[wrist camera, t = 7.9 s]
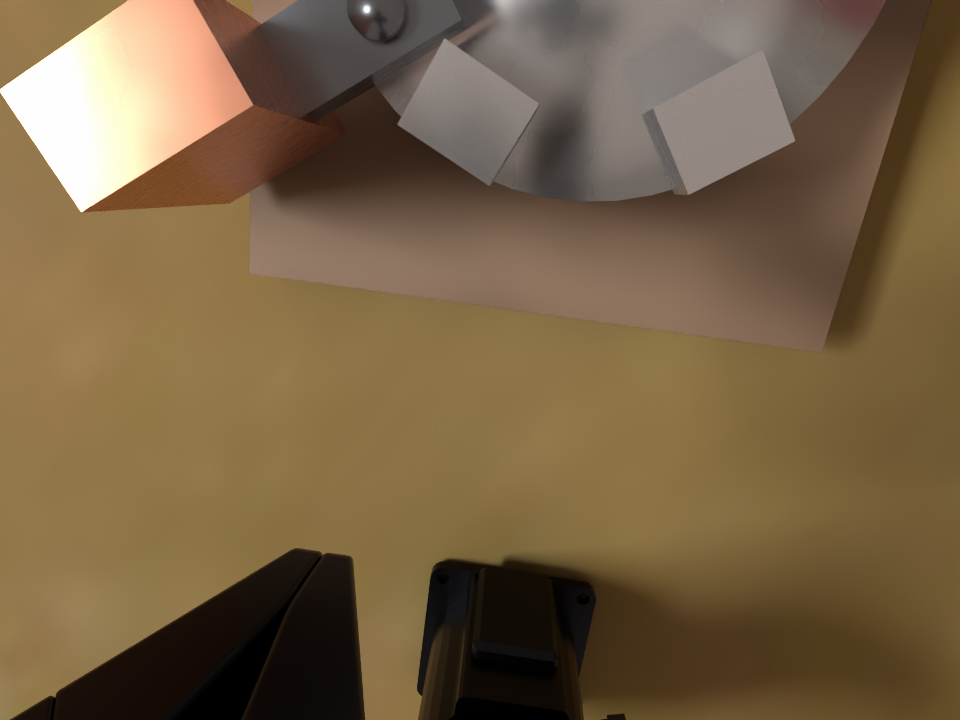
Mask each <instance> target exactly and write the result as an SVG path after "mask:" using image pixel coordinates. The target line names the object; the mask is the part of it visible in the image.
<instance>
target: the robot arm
mask: <svg viewBox="0 0 960 720" xmlns="http://www.w3.org/2000/svg"><path fill="white" fill-rule="evenodd" d="M440 573H445V574H447V575H448V576H449V577H447V578H443V577H441V576H440V575H439V574H440ZM580 594H586V595H587V596H586V597H584V598H580V597H577V596H578V595H580ZM595 602H596V596H595V591H594V589H593V587H592V586H591V585H590V584H589V583H586V582H581V581H575V580H568V579H561V578H554V577H547V576H545V575H539V574H532V573H525V572H519V571H512V570H505V569H498V568H491V567H479V566H473V565H466V564H459V563H452V562H439V563H437V564H435V565H434V566H433V569H432V573H431V578H430V586H429V594H428V602H427V611H426V619H425V627H424V635H423V643H422V651H421V659H420V668H419V676H418V684H417V691H418V693H419V694H420V695H421V696H422V700H421V706H420V711H419V717H418V720H584V717H583V709H582V701H581V694H580V686H579V674H580V669H581V665H582V660H583V656H584V651H585V647H586V642H587V638H588V633H589V629H590V624H591V620H592V615H593V611H594V606H595ZM607 718H608V719H602V720H626V719H625V715H624V713H623V714H614V715H607ZM10 720H365V713H364V700H363V686H362V673H361V660H360V646H359V633H358V620H357V607H356V593H355V580H354V567H353V559H352V557H350V556H347V555H340V554H333V553H326V554H324V555H322V553H321V552H319V551H313V550H307V549H300V548H295V549H292V550H290V551H289V552H287V553H285V554H284V555H282V556H280V557H279V558H277V559H275V560H274V561H272V562H270V563H269V564H267V565H265V566H264V567H262V568H260V569H259V570H257V571H255V572H254V573H252V574H250V575H249V576H247V577H246V578H244V579H242V580H241V581H239V582H237V583H236V584H234V585H232V586H231V587H229V588H227V589H226V590H224V591H222V592H221V593H219V594H217V595H216V596H214V597H212V598H211V599H209V600H208V601H206V602H204V603H203V604H201V605H199V606H198V607H196V608H194V609H193V610H191V611H189V612H188V613H186V614H184V615H183V616H181V617H179V618H178V619H176V620H174V621H173V622H171V623H169V624H168V625H166V626H165V627H163V628H161V629H160V630H158V631H156V632H155V633H153V634H151V635H150V636H148V637H146V638H145V639H143V640H141V641H140V642H138V643H136V644H135V645H133V646H131V647H130V648H128V649H127V650H125V651H123V652H122V653H120V654H118V655H117V656H115V657H113V658H112V659H110V660H108V661H107V662H105V663H103V664H102V665H100V666H98V667H97V668H95V669H93V670H92V671H90V672H88V673H87V674H85V675H84V676H82V677H80V678H79V679H77V680H75V681H74V682H72V683H70V684H69V685H67V686H65V687H64V688H62V689H60V690H59V691H58V692H57V693H56V697H53V696H48V697H47V698H45V699H43V700H42V701H40V702H38V703H37V704H35V705H33V706H32V707H30V708H29V709H27V710H25V711H24V712H22V713H20V714H19V715H17V716H15V717H14V718H12V719H10Z"/></svg>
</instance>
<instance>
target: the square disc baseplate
mask: <svg viewBox="0 0 960 720" xmlns="http://www.w3.org/2000/svg"><path fill="white" fill-rule="evenodd" d="M296 1H297V0H253V19H255V20H256V21H258V22H260V23H261V24H262V23H264V22H265V21H267V20H268V19H270V18H271V17H273V16H274V15H276V14H278V13H279V12H281V11H282V10H284V9H285V8H287V7H288V6H290V5H291V4H293V3H294V2H296ZM931 1H932V0H886V2H885V4H884V5H883V7H882V9H881V11H880V13H879V15H878V17H877V19H876V21H875V23H874V24H873V26H872V28H871V29H870V31H869V32H868V33H867V35H866V36H865V38H864V39H863V41H862V42H861V44H860V45H859V47H858V48H857V50H856V51H855V53H854V54H853V56H852V57H851V59H850V60H849V62H848V63H847V64H846V66H845V67H844V68H843V69H842V70H841V71H840V73H839V74H838V75H837V76H836V77H835V79H834V80H833V81H832V82H831V83H830V85H829V86H828V87H827V88H826V89H825V90H824V92H823V93H822V94H821V95H820V96H819V97H818V98H817V99H816V100H815V101H814V102H813V103H812V104H811V105H810V106H809V107H808V108H807V109H806V110H805V111H804V112H803V113H801V114H800V115H799V116H798V117H797V118H796V119H795V120H794V121H793V122H792V123H791V124H790V127H791V130H792V133H793V136H794V138H795V141H794V142H792V143H790V144H789V145H787V146H785V147H783V148H781V149H779V150H777V151H775V152H773V153H771V154H769V155H767V156H765V157H763V158H761V159H759V160H757V161H755V162H753V163H751V164H749V165H747V166H745V167H743V168H741V169H739V170H737V171H735V172H733V173H731V174H729V175H727V176H725V177H723V178H721V179H719V180H717V181H715V182H713V183H711V184H709V185H707V186H705V187H703V188H701V189H699V190H697V191H695V192H693V193H691V194H689V195H681V194H674V192H673V189H672V190H669V191H665V192H662V193H658V194H655V195H651V196H644V197H638V198H631V199H625V200H619V201H585V202H580V201H572V200H563V199H554V198H546V197H542V196H538V195H534V194H530V193H526V192H522V191H519V190H515V189H511V188H509V187H506V186H504V185H502V184H499V183H497V182H493V184H492V185H491V186H489V185H487V184H486V183H484V182H483V181H481V180H480V179H478V178H477V177H475V176H474V175H472V174H471V173H469V172H468V171H466V170H465V169H463V168H462V167H460V166H459V165H457V164H456V163H454V162H453V161H451V160H450V159H448V158H447V157H445V156H444V155H442V154H441V153H439V152H438V151H436V150H435V149H433V148H432V147H430V146H429V145H427V144H426V143H424V142H423V141H421V140H420V139H418V138H417V137H415V136H414V135H412V134H411V133H409V132H408V131H406V130H405V129H403V128H402V127H400V126H399V125H397V124H398V122H399V120H400V119H401V116H400V115H399V114H398V113H397V112H396V111H395V110H394V109H393V108H392V106H391V105H390V104H389V102H388V101H387V100H386V99H385V97H384V96H383V95H382V93H381V92H380V91H379V90H378V88H377V87H376V86H374V87H373V88H371V89H369V90H368V91H366V92H364V93H363V94H361V95H359V96H358V97H356V98H354V99H353V100H351V101H349V102H348V103H346V104H344V105H343V106H341V107H339V108H338V109H336V110H334V111H335V113H336V115H337V117H338V119H339V120H340V122H341V124H342V126H343V128H344V130H345V131H346V133H347V134H346V135H345V136H343V137H341V138H340V139H338V140H336V141H334V142H333V143H331V144H329V145H328V146H326V147H324V148H323V149H321V150H319V151H318V152H316V153H314V154H312V155H311V156H309V157H307V158H306V159H304V160H302V161H301V162H299V163H297V164H296V165H294V166H292V167H290V168H289V169H287V170H285V171H284V172H282V173H280V174H279V175H277V176H275V177H273V178H272V179H270V180H268V181H267V182H265V183H263V184H262V185H260V186H258V187H257V188H255V189H253V190H251V191H250V262H249V274H257V275H264V276H271V277H278V278H285V279H293V280H300V281H307V282H314V283H322V284H329V285H336V286H343V287H350V288H358V289H365V290H372V291H379V292H387V293H394V294H401V295H408V296H415V297H423V298H430V299H437V300H444V301H452V302H459V303H466V304H473V305H480V306H488V307H495V308H502V309H509V310H517V311H524V312H531V313H538V314H545V315H553V316H560V317H567V318H574V319H581V320H589V321H596V322H603V323H610V324H618V325H625V326H632V327H639V328H646V329H654V330H661V331H668V332H675V333H683V334H690V335H697V336H704V337H711V338H719V339H726V340H733V341H740V342H748V343H755V344H762V345H769V346H776V347H784V348H791V349H798V350H805V351H813V352H820V353H822V350H823V347H824V344H825V341H826V337H827V334H828V331H829V328H830V325H831V321H832V318H833V315H834V312H835V308H836V305H837V302H838V299H839V296H840V292H841V289H842V286H843V283H844V280H845V276H846V273H847V270H848V267H849V264H850V260H851V257H852V254H853V251H854V248H855V244H856V241H857V238H858V235H859V232H860V228H861V225H862V222H863V219H864V216H865V212H866V209H867V206H868V203H869V199H870V196H871V193H872V190H873V187H874V183H875V180H876V177H877V174H878V171H879V167H880V164H881V161H882V158H883V155H884V151H885V148H886V145H887V142H888V139H889V135H890V132H891V129H892V126H893V123H894V119H895V116H896V113H897V110H898V107H899V103H900V100H901V97H902V94H903V90H904V87H905V84H906V81H907V78H908V74H909V71H910V68H911V65H912V62H913V58H914V55H915V52H916V49H917V46H918V42H919V39H920V36H921V33H922V30H923V26H924V23H925V20H926V17H927V14H928V10H929V7H930V4H931Z"/></svg>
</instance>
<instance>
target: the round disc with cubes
mask: <svg viewBox="0 0 960 720" xmlns="http://www.w3.org/2000/svg"><path fill="white" fill-rule="evenodd" d="M885 2H886V0H297V1H296V2H294V3H293V4H291V5H290V6H288V7H287V8H285V9H284V10H282V11H281V12H279V13H278V14H276V15H274V16H273V17H271V18H270V19H268V20H267V21H265V22H264V23H262V24H261V23H260V22H258V21H256V20H255V19H253V18H252V17H250V16H249V15H247V14H245V13H244V12H242V11H241V10H239V9H238V8H236V7H235V6H233V5H231V4H230V3H228V2H227V1H225V0H129V1H127V2H126V3H124V4H123V5H121V6H120V7H118V8H117V9H116V10H114V11H113V12H111V13H110V14H108V15H107V16H105V17H104V18H103V19H101V20H100V21H98V22H97V23H95V24H94V25H93V26H91V27H90V28H88V29H87V30H85V31H84V32H82V33H81V34H80V35H78V36H77V37H75V38H74V39H72V40H71V41H70V42H68V43H67V44H65V45H64V46H62V47H61V48H59V49H58V50H57V51H55V52H54V53H52V54H51V55H49V56H48V57H46V58H45V59H44V60H42V61H41V62H39V63H38V64H36V65H35V66H34V67H32V68H31V69H29V70H28V71H26V72H25V73H23V74H22V75H21V76H19V77H18V78H16V79H15V80H13V81H12V82H11V83H9V84H8V85H6V86H5V87H3V88H2V89H0V92H1V93H2V95H3V96H4V98H5V99H6V101H7V102H8V104H9V105H10V107H11V108H12V110H13V111H14V113H15V114H16V116H17V117H18V119H19V120H20V122H21V123H22V125H23V126H24V128H25V129H26V131H27V132H28V134H29V135H30V137H31V138H32V140H33V141H34V143H35V144H36V145H37V147H38V148H39V150H40V151H41V153H42V154H43V156H44V157H45V159H46V160H47V162H48V163H49V165H50V166H51V168H52V169H53V171H54V172H55V174H56V175H57V177H58V178H59V180H60V181H61V183H62V184H63V186H64V187H65V189H66V190H67V192H68V193H69V195H70V196H71V197H72V199H73V200H74V202H75V203H76V205H77V206H78V208H79V209H80V211H81V212H92V211H109V210H126V209H143V208H160V207H177V206H194V205H210V204H227V203H231V202H233V201H234V200H236V199H238V198H240V197H241V196H243V195H245V194H246V193H248V192H250V191H251V190H253V189H255V188H257V187H258V186H260V185H262V184H263V183H265V182H267V181H268V180H270V179H272V178H273V177H275V176H277V175H279V174H280V173H282V172H284V171H285V170H287V169H289V168H290V167H292V166H294V165H296V164H297V163H299V162H301V161H302V160H304V159H306V158H307V157H309V156H311V155H312V154H314V153H316V152H318V151H319V150H321V149H323V148H324V147H326V146H328V145H329V144H331V143H333V142H334V141H336V140H338V139H340V138H341V137H343V136H345V135H346V134H347V133H346V131H345V130H344V128H343V126H342V124H341V122H340V120H339V119H338V117H337V115H336V113H335V111H334V110H336V109H338V108H339V107H341V106H343V105H344V104H346V103H348V102H349V101H351V100H353V99H354V98H356V97H358V96H359V95H361V94H363V93H364V92H366V91H368V90H369V89H371V88H373V87H374V86H376V87H377V88H378V90H379V91H380V92H381V93H382V95H383V96H384V97H385V99H386V100H387V101H388V102H389V104H390V105H391V106H392V108H393V109H394V110H395V111H396V112H397V113H398V114H399V115H400V116H401V119H400V120H399V122H398V124H397V125H399V126H400V127H402V128H403V129H405V130H406V131H408V132H409V133H411V134H412V135H414V136H415V137H417V138H418V139H420V140H421V141H423V142H424V143H426V144H427V145H429V146H430V147H432V148H433V149H435V150H436V151H438V152H439V153H441V154H442V155H444V156H445V157H447V158H448V159H450V160H451V161H453V162H454V163H456V164H457V165H459V166H460V167H462V168H463V169H465V170H466V171H468V172H469V173H471V174H472V175H474V176H475V177H477V178H478V179H480V180H481V181H483V182H484V183H486V184H487V185H489V186H491V185H492V184H493V182H497V183H499V184H502V185H504V186H506V187H509V188H511V189H515V190H519V191H522V192H526V193H530V194H534V195H538V196H542V197H546V198H554V199H563V200H572V201H580V202H585V201H619V200H625V199H631V198H638V197H644V196H651V195H655V194H658V193H662V192H665V191H669V190H672V189H673V192H674V194H681V195H689V194H691V193H693V192H695V191H697V190H699V189H701V188H703V187H705V186H707V185H709V184H711V183H713V182H715V181H717V180H719V179H721V178H723V177H725V176H727V175H729V174H731V173H733V172H735V171H737V170H739V169H741V168H743V167H745V166H747V165H749V164H751V163H753V162H755V161H757V160H759V159H761V158H763V157H765V156H767V155H769V154H771V153H773V152H775V151H777V150H779V149H781V148H783V147H785V146H787V145H789V144H790V143H792V142H794V141H795V138H794V136H793V133H792V130H791V127H790V124H791V123H792V122H793V121H794V120H795V119H796V118H797V117H798V116H799V115H800V114H801V113H803V112H804V111H805V110H806V109H807V108H808V107H809V106H810V105H811V104H812V103H813V102H814V101H815V100H816V99H817V98H818V97H819V96H820V95H821V94H822V93H823V92H824V90H825V89H826V88H827V87H828V86H829V85H830V83H831V82H832V81H833V80H834V79H835V77H836V76H837V75H838V74H839V73H840V71H841V70H842V69H843V68H844V67H845V66H846V64H847V63H848V62H849V60H850V59H851V57H852V56H853V54H854V53H855V51H856V50H857V48H858V47H859V45H860V44H861V42H862V41H863V39H864V38H865V36H866V35H867V33H868V32H869V31H870V29H871V28H872V26H873V24H874V23H875V21H876V19H877V17H878V15H879V13H880V11H881V9H882V7H883V5H884V4H885Z"/></svg>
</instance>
